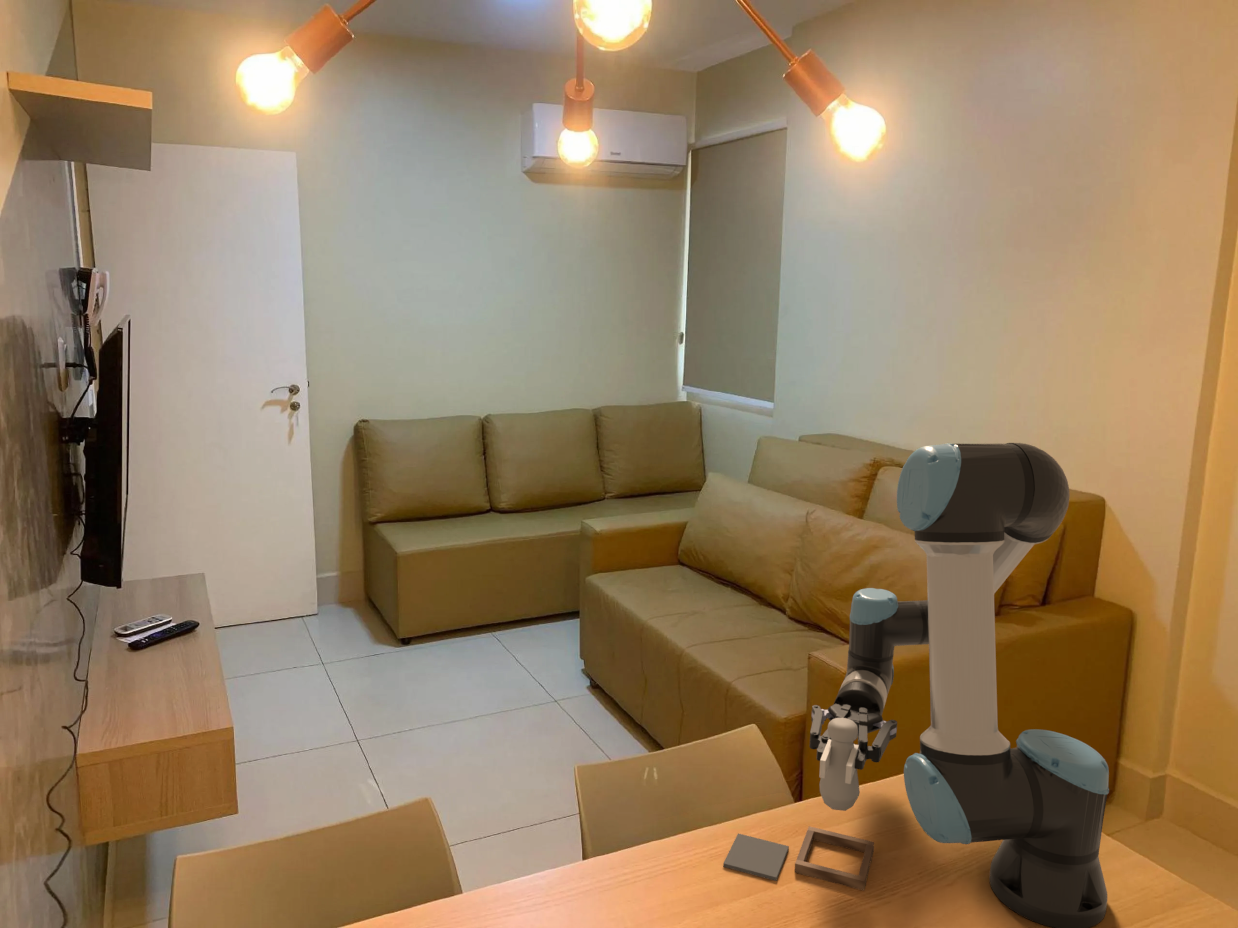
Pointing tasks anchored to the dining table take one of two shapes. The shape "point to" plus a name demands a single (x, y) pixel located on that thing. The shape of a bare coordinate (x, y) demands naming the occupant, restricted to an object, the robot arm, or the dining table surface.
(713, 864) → the dining table surface
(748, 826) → the dining table surface
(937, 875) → the dining table surface
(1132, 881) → the dining table surface
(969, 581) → the robot arm
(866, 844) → the walnut collar
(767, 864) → the charcoal coaster
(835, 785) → the salt shaker
